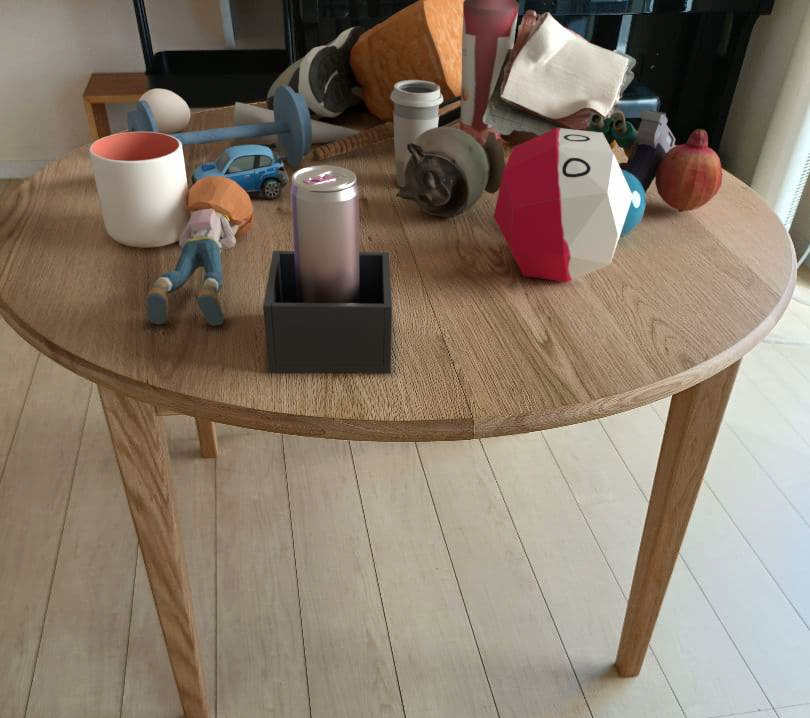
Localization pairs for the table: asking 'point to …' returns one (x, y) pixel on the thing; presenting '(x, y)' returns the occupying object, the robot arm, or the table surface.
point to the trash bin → (329, 322)
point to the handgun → (650, 147)
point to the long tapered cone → (257, 115)
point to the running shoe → (324, 77)
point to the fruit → (689, 174)
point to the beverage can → (326, 234)
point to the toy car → (249, 168)
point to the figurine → (205, 245)
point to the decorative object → (562, 204)
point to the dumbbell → (288, 125)
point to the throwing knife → (380, 134)
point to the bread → (410, 53)
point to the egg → (167, 110)
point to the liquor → (483, 59)
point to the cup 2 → (413, 116)
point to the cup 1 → (141, 187)
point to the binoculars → (616, 133)
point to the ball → (633, 204)
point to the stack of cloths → (555, 80)
